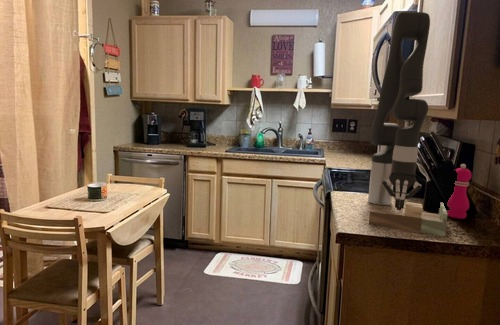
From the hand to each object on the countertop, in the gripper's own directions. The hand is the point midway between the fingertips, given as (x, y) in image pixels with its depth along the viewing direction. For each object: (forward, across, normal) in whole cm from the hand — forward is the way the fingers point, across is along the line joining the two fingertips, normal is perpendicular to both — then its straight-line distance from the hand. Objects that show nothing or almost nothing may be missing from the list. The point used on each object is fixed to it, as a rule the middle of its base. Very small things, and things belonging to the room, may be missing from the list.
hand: (398, 209), depth 125 cm
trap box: (+5, -2, -3) cm, 6 cm away
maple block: (+3, -4, 0) cm, 5 cm away
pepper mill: (+5, -20, -22) cm, 30 cm away
